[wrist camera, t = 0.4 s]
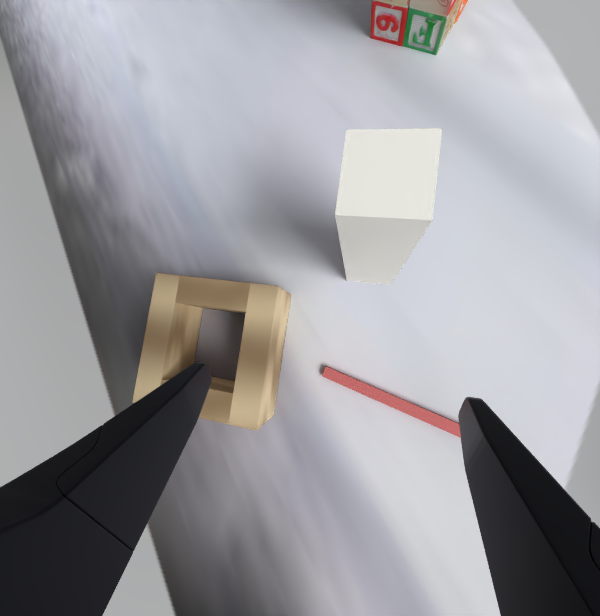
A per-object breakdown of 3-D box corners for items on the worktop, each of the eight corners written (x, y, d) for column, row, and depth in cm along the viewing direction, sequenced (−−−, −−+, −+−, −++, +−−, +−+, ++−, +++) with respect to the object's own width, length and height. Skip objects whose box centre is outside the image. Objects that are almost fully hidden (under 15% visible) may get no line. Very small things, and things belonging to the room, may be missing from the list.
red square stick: (514, 447, 19) (517, 449, 19) (510, 458, 19) (513, 461, 19) (326, 366, 23) (325, 366, 22) (322, 375, 23) (321, 376, 22)
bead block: (273, 414, 23) (256, 430, 19) (167, 392, 25) (132, 402, 21) (291, 294, 24) (278, 286, 20) (186, 282, 26) (156, 272, 22)
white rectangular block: (391, 284, 22) (432, 220, 10) (346, 280, 23) (335, 215, 11) (396, 242, 22) (442, 128, 10) (352, 239, 23) (346, 129, 11)
